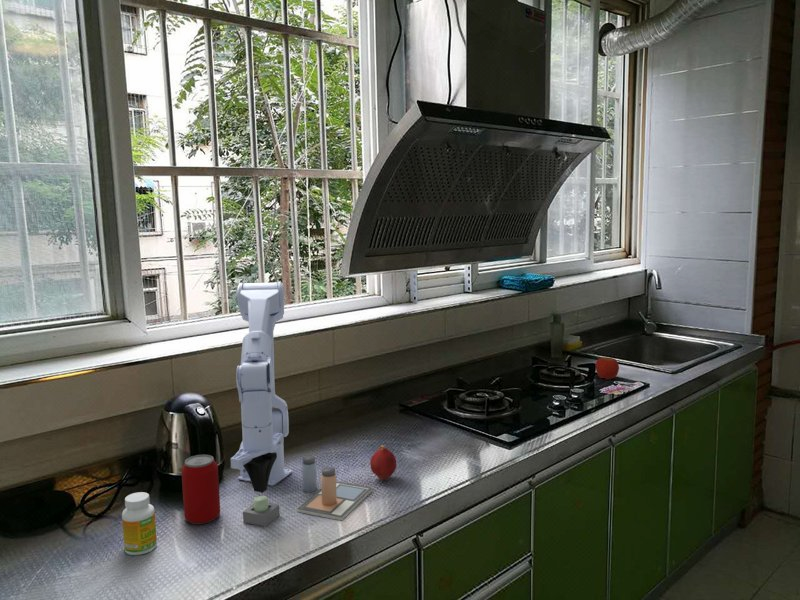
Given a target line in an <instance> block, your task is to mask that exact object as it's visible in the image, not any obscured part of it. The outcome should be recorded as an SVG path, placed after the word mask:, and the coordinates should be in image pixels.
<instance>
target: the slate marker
mask: <svg viewBox="0 0 800 600" xmlns="http://www.w3.org/2000/svg"><path fill="white" fill-rule="evenodd" d="M301 470H302V471H301V475H302V490H303V491H304V492H307V493H311V492H315V491H317V489H318V482H317V477H318V476H317V461H316V457H315V456H314V455H305V456H303V457H302V462H301Z"/></svg>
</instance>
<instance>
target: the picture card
mask: <svg viewBox="0 0 800 600" xmlns="http://www.w3.org/2000/svg"><path fill="white" fill-rule="evenodd" d="M336 492H337V503H336V504H335V505H332V506H325V505H323V504H322V488H320V489H319V490H317V491H316V492H315V493H314V494H312V495H311V497H309V498H308V499H306V500H305V501H304V502H303V503H302V504H301V505H299V506H298V507H297V508H296V509H297V512H298V513H303V514H308V515H312V516H318V517H323V518H328V519H332V520H339V521H343V520H344V519H345V518H346V517H347V516H348V515H349V514H350V513H351V512H352V511H353V510H354V509H355V508H357V506H358V505H359V504H360V503H361V502H363V500H364V499H365V498H367V496H369V495H370V493H372V492H373V487H372V486H365V485H359V484H353V483H348V482H343V481H342V482H341V481H337V480H336Z"/></svg>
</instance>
